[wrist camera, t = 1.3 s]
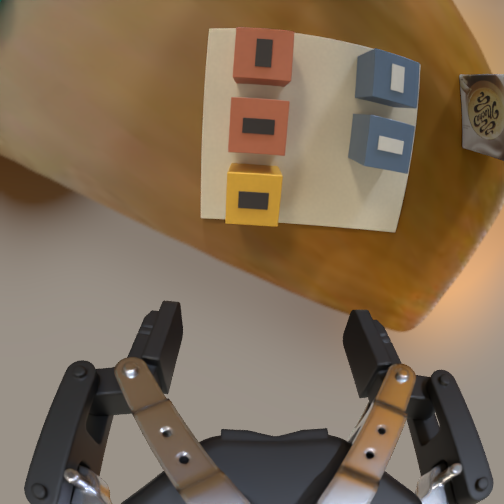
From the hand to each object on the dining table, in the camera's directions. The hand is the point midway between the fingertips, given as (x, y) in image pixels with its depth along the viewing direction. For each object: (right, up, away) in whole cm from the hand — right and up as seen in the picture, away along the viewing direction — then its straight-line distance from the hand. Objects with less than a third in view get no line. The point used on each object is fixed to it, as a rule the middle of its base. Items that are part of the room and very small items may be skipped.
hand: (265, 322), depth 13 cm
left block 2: (0, +15, +11) cm, 18 cm away
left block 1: (0, +20, +8) cm, 22 cm away
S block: (-1, +9, +14) cm, 17 cm away
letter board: (+5, +15, +12) cm, 20 cm away
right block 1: (+11, +19, +9) cm, 24 cm away
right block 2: (+11, +14, +12) cm, 21 cm away
